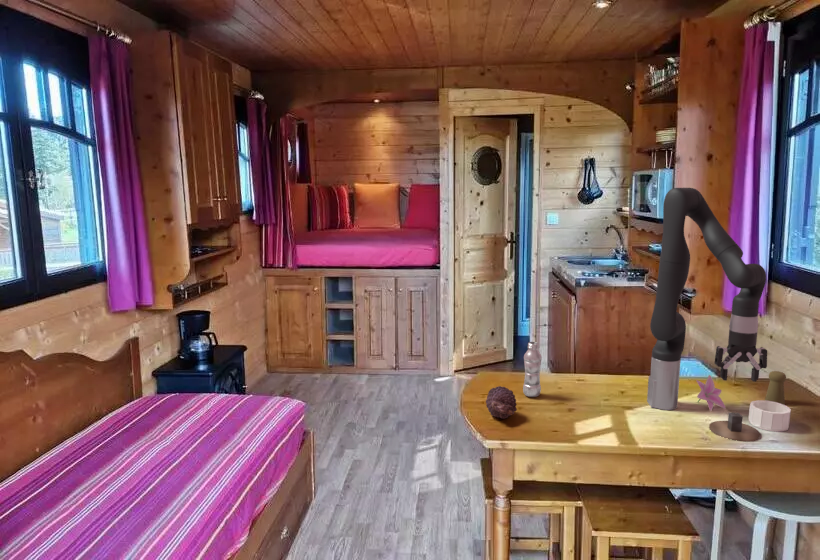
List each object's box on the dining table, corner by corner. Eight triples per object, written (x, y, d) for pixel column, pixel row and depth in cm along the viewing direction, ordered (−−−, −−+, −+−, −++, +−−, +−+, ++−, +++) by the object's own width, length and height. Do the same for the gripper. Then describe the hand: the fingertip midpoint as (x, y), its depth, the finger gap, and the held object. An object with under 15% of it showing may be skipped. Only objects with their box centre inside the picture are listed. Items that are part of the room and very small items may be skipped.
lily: (689, 413, 204) (705, 393, 199) (679, 389, 214) (694, 370, 209) (721, 422, 205) (737, 403, 200) (709, 398, 215) (724, 379, 210)
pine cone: (480, 406, 208) (480, 379, 207) (507, 405, 209) (508, 377, 208) (492, 427, 191) (493, 397, 189) (522, 425, 192) (523, 396, 190)
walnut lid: (718, 441, 181) (720, 422, 180) (702, 422, 194) (704, 405, 193) (768, 443, 179) (769, 424, 178) (748, 424, 193) (750, 407, 192)
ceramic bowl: (757, 430, 187) (759, 412, 186) (743, 416, 198) (744, 399, 197) (795, 432, 186) (797, 414, 185) (778, 418, 196) (780, 401, 195)
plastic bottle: (543, 394, 219) (545, 342, 216) (536, 400, 213) (538, 346, 210) (526, 391, 223) (528, 339, 219) (519, 397, 217) (521, 344, 213)
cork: (787, 405, 207) (791, 375, 205) (768, 404, 208) (771, 374, 207) (780, 399, 213) (783, 369, 211) (762, 398, 214) (765, 368, 212)
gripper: (723, 331, 178) (719, 383, 181) (774, 332, 176) (769, 385, 179) (714, 325, 186) (710, 375, 188) (762, 326, 184) (758, 377, 187)
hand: (739, 380), depth 184 cm, fingers open, 8 cm apart
